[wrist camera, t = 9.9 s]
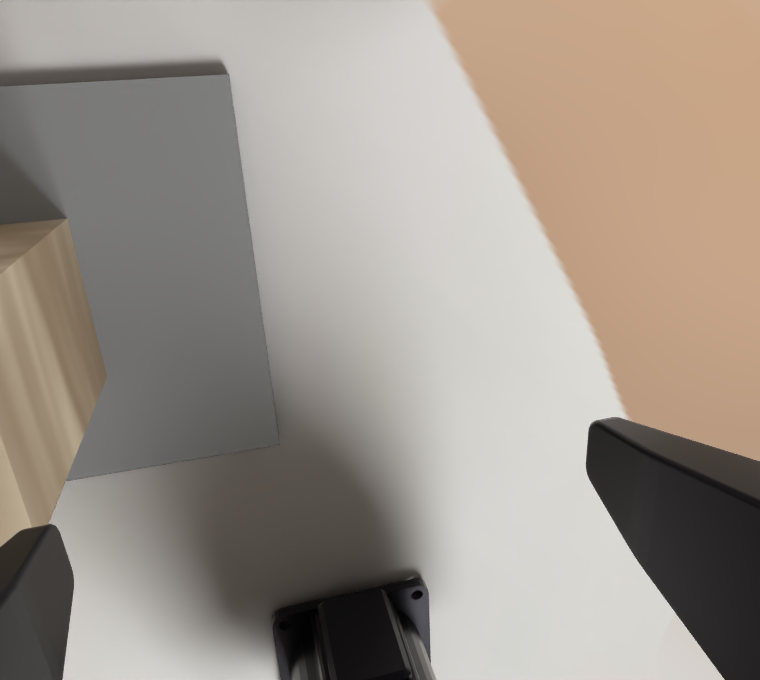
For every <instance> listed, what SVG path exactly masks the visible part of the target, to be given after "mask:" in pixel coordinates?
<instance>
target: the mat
mask: <svg viewBox="0 0 760 680" xmlns="http://www.w3.org/2000/svg"><path fill="white" fill-rule="evenodd" d="M56 219H67V220H68V223H69V227H70V231H71V235H72V239H73V243H74V247H75V251H76V255H77V259H78V263H79V267H80V271H81V275H82V279H83V283H84V287H85V291H86V295H87V299H88V303H89V307H90V311H91V315H92V319H93V323H94V327H95V331H96V335H97V339H98V342H99V346H100V350H101V354H102V358H103V362H104V366H105V370H106V374H107V379H106V381H105V384H104V386H103V389H102V391H101V394H100V396H99V399H98V401H97V404H96V406H95V409H94V411H93V414H92V416H91V419H90V421H89V424H88V426H87V429H86V431H85V434H84V436H83V439H82V441H81V444H80V446H79V449H78V451H77V454H76V456H75V459H74V461H73V464H72V466H71V469H70V471H69V474H68V476H67V479H66V481H70V480H76V479H82V478H88V477H93V476H99V475H105V474H111V473H117V472H123V471H129V470H134V469H140V468H146V467H152V466H158V465H164V464H170V463H176V462H181V461H187V460H193V459H199V458H205V457H211V456H217V455H223V454H228V453H234V452H240V451H246V450H252V449H258V448H264V447H269V446H275V445H280V444H279V436H278V429H277V422H276V414H275V407H274V400H273V392H272V385H271V378H270V371H269V363H268V356H267V349H266V341H265V334H264V327H263V320H262V312H261V305H260V298H259V290H258V283H257V276H256V269H255V261H254V254H253V247H252V239H251V232H250V225H249V217H248V210H247V203H246V196H245V188H244V181H243V174H242V166H241V159H240V152H239V145H238V137H237V130H236V123H235V115H234V108H233V101H232V94H231V86H230V79H229V74H223V75H205V76H186V77H168V78H149V79H131V80H112V81H94V82H75V83H56V84H38V85H19V86H1V87H0V225H3V224H14V223H24V222H35V221H46V220H56Z"/></svg>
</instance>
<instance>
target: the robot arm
mask: <svg viewBox="0 0 760 680" xmlns="http://www.w3.org/2000/svg"><path fill="white" fill-rule="evenodd" d="M586 471H587V475H588V477H589V480H590V482H591V483H592V485H593V487H594V488H595V490H596V492H597V494H598V495H599V497H600V499H601V500H602V502H603V504H604V505H605V507H606V509H607V511H608V512H609V514H610V516H611V517H612V519H613V521H614V523H615V524H616V526H617V528H618V529H619V531H620V533H621V534H622V536H623V538H624V540H625V541H626V543H627V545H628V546H629V548H630V549H631V551H632V553H633V554H634V556H635V557H636V559H637V560H638V562H639V563H640V565H641V566H642V567H643V569H644V570H645V572H646V573H647V575H648V576H649V577H650V579H651V580H652V581H653V583H654V584H655V585H656V587H657V588H658V590H659V591H660V592H661V594H662V595H663V596H664V598H665V599H666V600H667V602H668V603H669V604H670V606H671V607H672V609H673V610H674V611H675V613H676V614H677V615H678V617H679V618H680V619H681V621H682V622H683V624H684V625H685V626H686V627H687V629H688V630H689V632H690V633H691V634H692V635H693V637H694V638H695V640H696V641H697V643H698V644H699V645H700V646H701V648H702V649H703V651H704V652H705V653H706V655H707V656H708V658H709V659H710V660H711V662H712V663H713V664H714V666H715V667H716V668H717V670H718V671H719V673H720V674H721V675H722V677H723V678H724V679H725V680H760V461H756V460H753V459H750V458H747V457H743V456H741V455H737V454H734V453H731V452H728V451H724V450H721V449H718V448H715V447H712V446H709V445H705V444H702V443H699V442H696V441H692V440H689V439H686V438H683V437H680V436H676V435H673V434H670V433H666V432H664V431H660V430H657V429H654V428H650V427H648V426H644V425H641V424H638V423H635V422H632V421H628V420H625V419H622V418H618V417H611V418H606V419H601V420H596V421H594V422H593V423H592V424H591V425H590V427H589V432H588V444H587V456H586ZM73 590H74V576H73V571H72V567H71V564H70V561H69V558H68V555H67V552H66V549H65V546H64V543H63V541H62V538H61V535H60V532H59V530H58V529H57V527H56V526H54V525H52V524H48V525H42V526H37V527H32V528H26V529H23V530H20V531H19V532H18V533H16V534H15V535H14V536H13V537H12V538H10V539H9V540H8V541H7V542H6V543H4V544H3V545H2V546H1V547H0V680H62V679H63V671H64V663H65V655H66V647H67V639H68V631H69V623H70V615H71V607H72V598H73ZM417 590H418V592H415V593H413V592H414V591H417ZM284 620H288V621H286V622H282V621H284ZM272 626H273V633H274V639H275V645H276V651H277V657H278V663H279V669H280V676H281V680H436V678H435V675H434V672H433V669H432V667H431V659H430V626H429V593H428V589H427V587H426V584H425V582H424V581H423V580H421V579H412V580H408V581H403V582H399V583H394V584H390V585H385V586H381V587H376V588H372V589H367V590H363V591H358V592H354V593H349V594H345V595H340V596H335V597H331V598H326V599H322V600H317V601H313V602H308V603H304V604H299V605H295V606H290V607H286V608H282V609H279V610H277V611H276V612H275V613H274V614H273V616H272Z"/></svg>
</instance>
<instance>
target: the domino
mask: <svg viewBox="0 0 760 680" xmlns="http://www.w3.org/2000/svg"><path fill="white" fill-rule="evenodd" d="M106 379H107V374H106V370H105V366H104V362H103V358H102V354H101V350H100V346H99V342H98V339H97V335H96V331H95V327H94V323H93V319H92V315H91V311H90V307H89V303H88V299H87V295H86V291H85V287H84V283H83V279H82V275H81V271H80V267H79V263H78V259H77V255H76V251H75V247H74V243H73V239H72V235H71V231H70V227H69V223H68V220H67V219H56V220H46V221H35V222H24V223H14V224H3V225H0V547H1V546H2V545H3V544H4V543H6V542H7V541H8V540H9V539H10V538H12V537H13V536H14V535H15V534H16V533H18V532H19V531H20V530H23V529H26V528H32V527H37V526H42V525H48V524H49V521H50V519H51V516H52V514H53V511H54V509H55V506H56V504H57V501H58V499H59V496H60V494H61V491H62V489H63V486H64V484H65V481H66V479H67V476H68V474H69V471H70V469H71V466H72V464H73V461H74V459H75V456H76V454H77V451H78V449H79V446H80V444H81V441H82V439H83V436H84V434H85V431H86V429H87V426H88V424H89V421H90V419H91V416H92V414H93V411H94V409H95V406H96V404H97V401H98V399H99V396H100V394H101V391H102V389H103V386H104V384H105V381H106Z"/></svg>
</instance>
